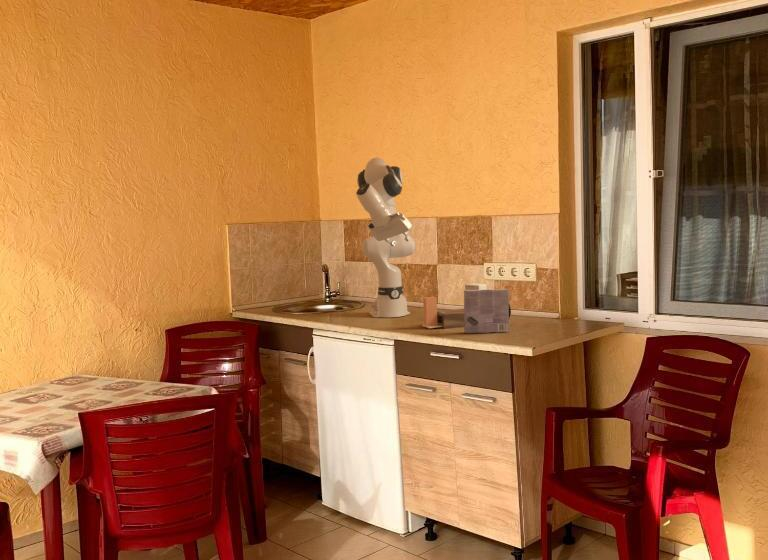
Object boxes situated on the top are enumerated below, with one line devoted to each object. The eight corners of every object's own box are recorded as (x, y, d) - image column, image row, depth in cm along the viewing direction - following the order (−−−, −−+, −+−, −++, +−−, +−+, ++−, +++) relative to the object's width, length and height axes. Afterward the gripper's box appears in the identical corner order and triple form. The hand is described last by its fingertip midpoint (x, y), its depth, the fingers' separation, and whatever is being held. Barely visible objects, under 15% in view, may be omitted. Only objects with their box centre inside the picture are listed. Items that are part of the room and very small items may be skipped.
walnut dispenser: (432, 325, 360) (431, 309, 359) (469, 321, 366) (468, 306, 366) (444, 328, 348) (443, 313, 348) (482, 324, 355) (481, 309, 354)
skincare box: (464, 318, 378) (463, 284, 376) (473, 316, 383) (472, 282, 381) (479, 319, 372) (478, 285, 371) (488, 317, 377) (487, 283, 375)
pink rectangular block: (422, 326, 356) (421, 297, 355) (465, 321, 363) (464, 293, 362) (429, 328, 349) (428, 298, 347) (473, 323, 356) (472, 294, 355)
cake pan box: (511, 330, 337) (509, 287, 335) (512, 332, 332) (511, 288, 330) (464, 332, 338) (462, 289, 336) (465, 334, 333) (463, 291, 331)
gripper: (403, 207, 346) (421, 232, 350) (371, 219, 361) (389, 243, 365) (396, 215, 342) (414, 241, 346) (364, 227, 357) (382, 252, 361)
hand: (401, 242), depth 356 cm, fingers open, 8 cm apart
